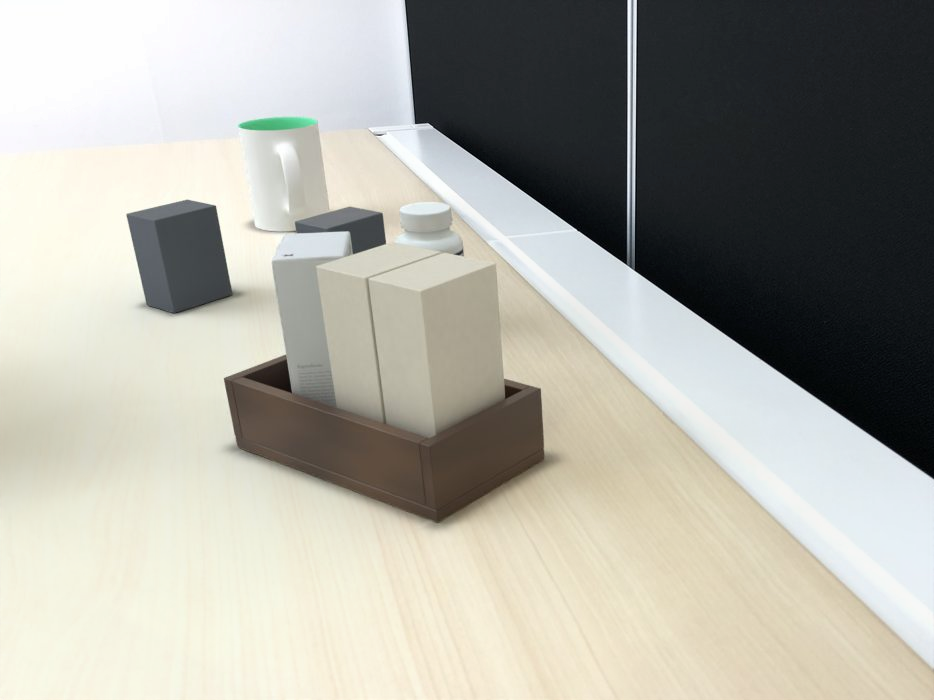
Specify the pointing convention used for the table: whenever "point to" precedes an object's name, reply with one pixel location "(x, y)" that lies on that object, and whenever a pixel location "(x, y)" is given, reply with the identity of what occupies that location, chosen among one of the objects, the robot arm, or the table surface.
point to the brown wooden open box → (387, 443)
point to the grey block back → (180, 255)
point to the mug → (284, 171)
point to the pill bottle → (429, 228)
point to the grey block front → (349, 226)
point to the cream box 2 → (438, 342)
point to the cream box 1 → (358, 323)
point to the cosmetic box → (306, 309)
